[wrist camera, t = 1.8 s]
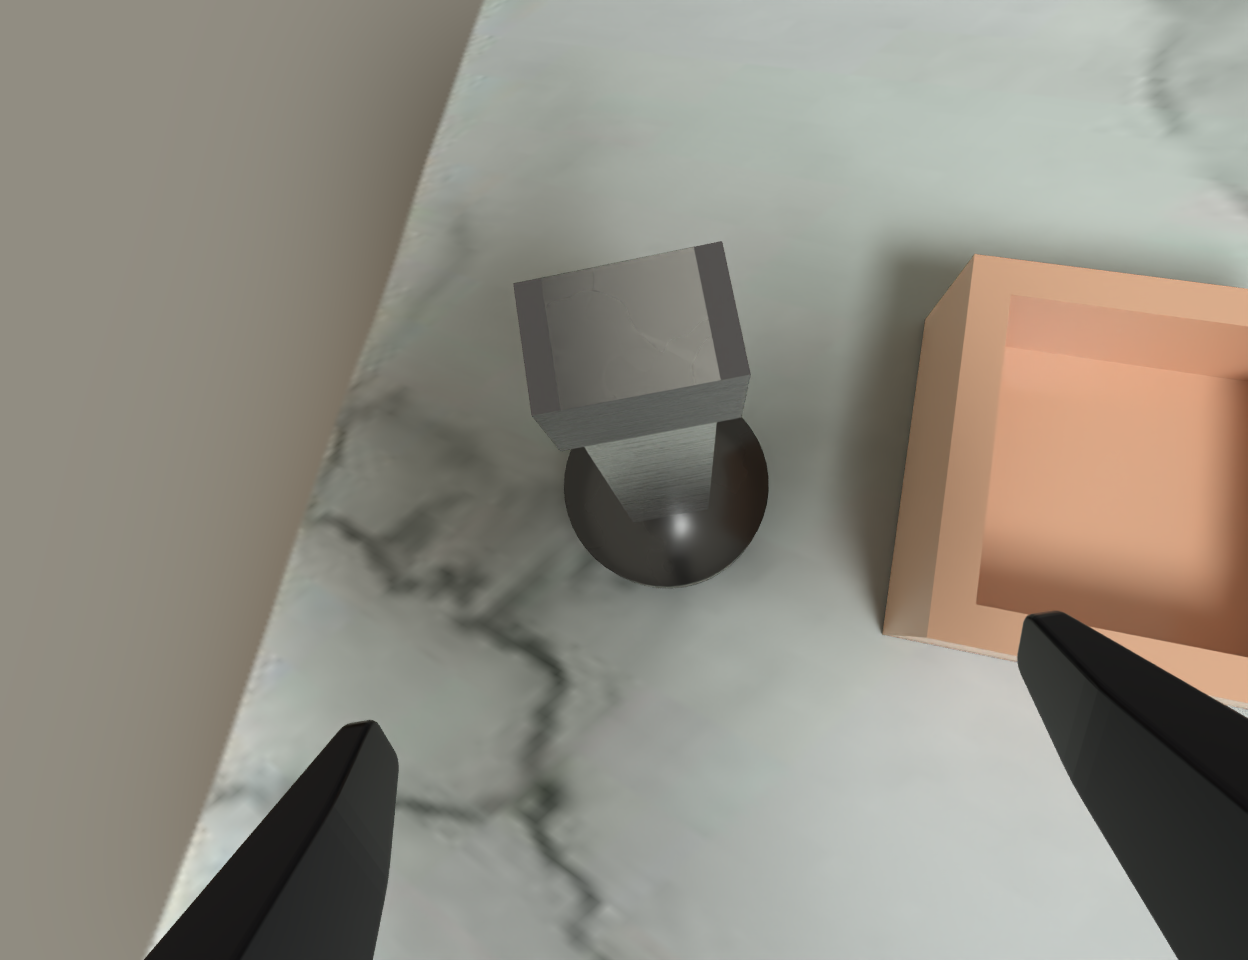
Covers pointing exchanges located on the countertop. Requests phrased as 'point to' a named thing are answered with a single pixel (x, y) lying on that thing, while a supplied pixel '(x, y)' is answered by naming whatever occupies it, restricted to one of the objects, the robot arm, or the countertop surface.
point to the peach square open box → (1080, 468)
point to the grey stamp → (648, 411)
